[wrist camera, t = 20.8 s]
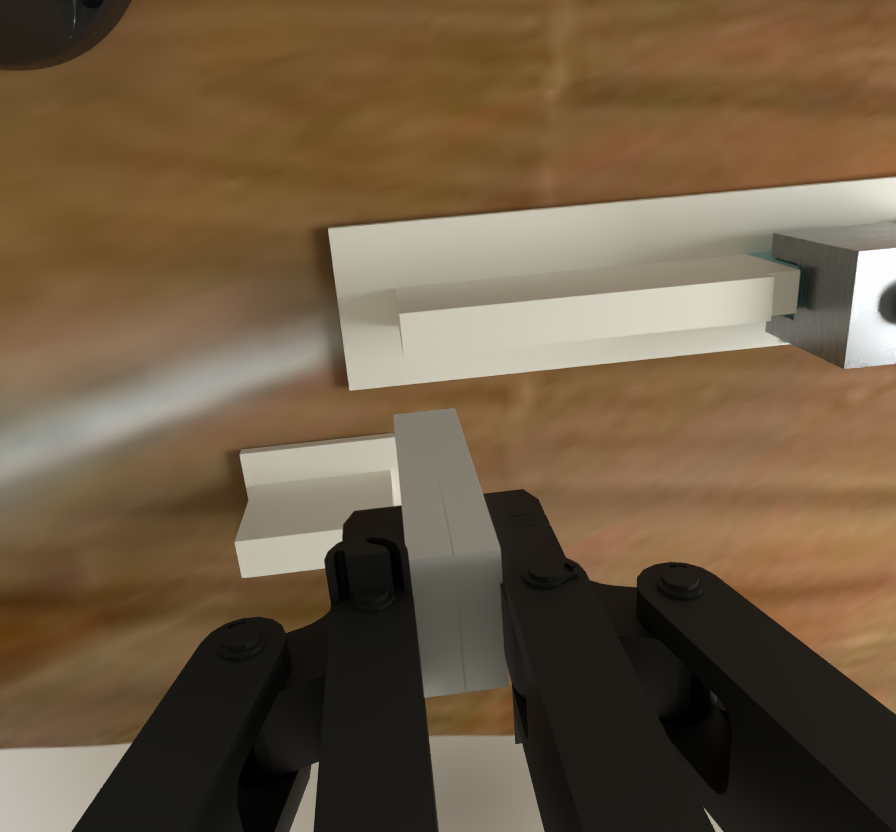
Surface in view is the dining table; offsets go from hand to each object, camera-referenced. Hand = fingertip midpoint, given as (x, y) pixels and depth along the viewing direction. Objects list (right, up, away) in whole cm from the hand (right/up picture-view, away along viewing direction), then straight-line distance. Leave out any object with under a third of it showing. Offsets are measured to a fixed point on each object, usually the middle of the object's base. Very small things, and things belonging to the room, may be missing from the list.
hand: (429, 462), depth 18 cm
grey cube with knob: (+23, +10, +26) cm, 36 cm away
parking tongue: (-8, -4, +31) cm, 32 cm away
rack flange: (+11, +10, +28) cm, 32 cm away
